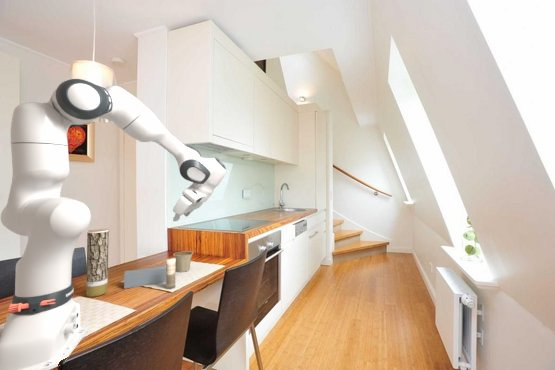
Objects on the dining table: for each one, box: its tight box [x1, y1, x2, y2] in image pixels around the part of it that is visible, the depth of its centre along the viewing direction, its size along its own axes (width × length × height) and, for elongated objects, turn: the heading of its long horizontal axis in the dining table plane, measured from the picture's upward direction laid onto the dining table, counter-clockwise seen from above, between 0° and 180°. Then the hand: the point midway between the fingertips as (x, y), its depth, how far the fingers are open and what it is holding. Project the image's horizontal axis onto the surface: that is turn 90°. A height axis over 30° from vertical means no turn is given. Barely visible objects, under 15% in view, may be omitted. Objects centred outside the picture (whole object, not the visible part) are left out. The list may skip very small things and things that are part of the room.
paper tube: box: [85, 228, 110, 298], centre depth 98 cm, size 7×7×25 cm
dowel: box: [165, 257, 176, 290], centre depth 104 cm, size 4×4×12 cm
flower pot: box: [172, 250, 194, 273], centre depth 126 cm, size 9×9×9 cm
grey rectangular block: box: [123, 265, 166, 290], centre depth 108 cm, size 16×4×6 cm, turn 119°
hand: (180, 217), depth 106 cm, fingers open, 8 cm apart
